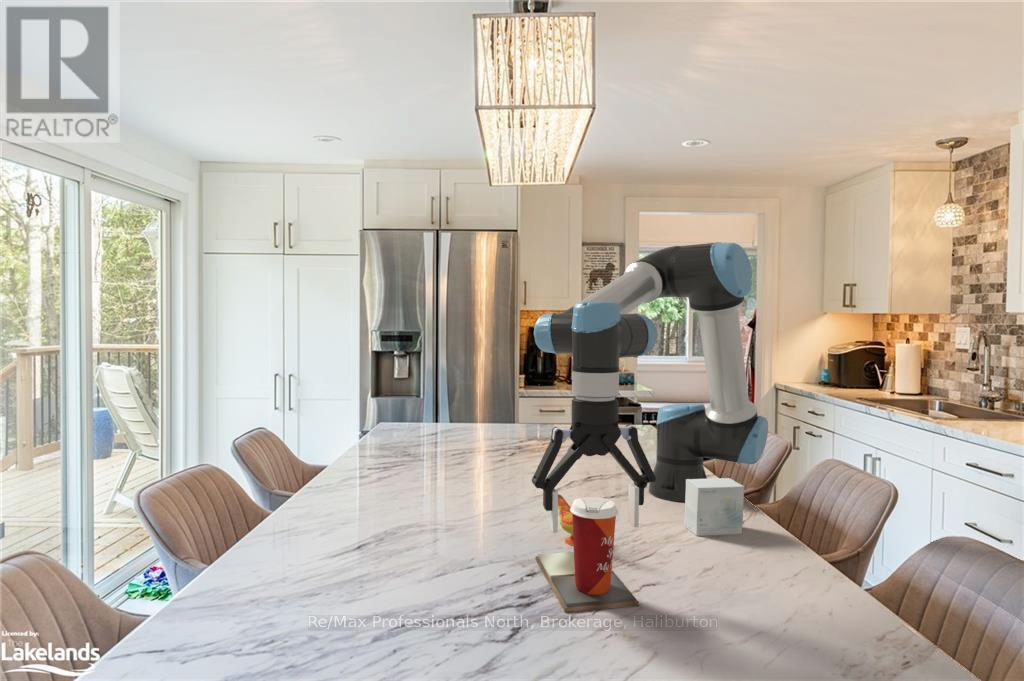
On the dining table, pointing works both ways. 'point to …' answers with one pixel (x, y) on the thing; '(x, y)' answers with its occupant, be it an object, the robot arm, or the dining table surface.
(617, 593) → the wooden framed mirror
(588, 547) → the paper cup
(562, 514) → the magic lamp
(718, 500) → the skincare box
